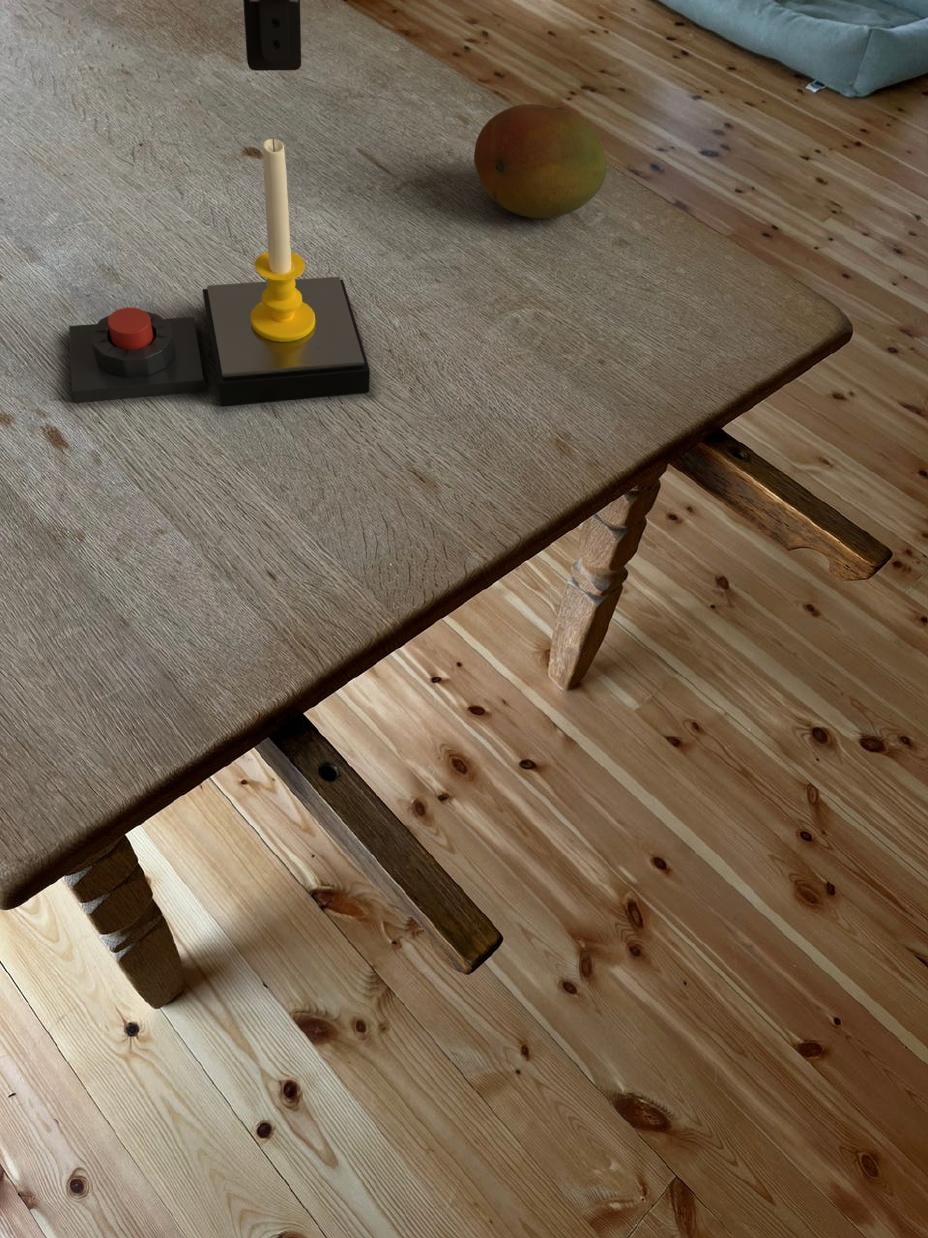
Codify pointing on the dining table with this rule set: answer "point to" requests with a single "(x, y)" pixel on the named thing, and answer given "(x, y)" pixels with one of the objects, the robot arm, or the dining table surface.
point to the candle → (279, 260)
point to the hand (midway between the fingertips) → (263, 30)
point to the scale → (284, 346)
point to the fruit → (539, 161)
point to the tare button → (130, 328)
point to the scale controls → (135, 362)
